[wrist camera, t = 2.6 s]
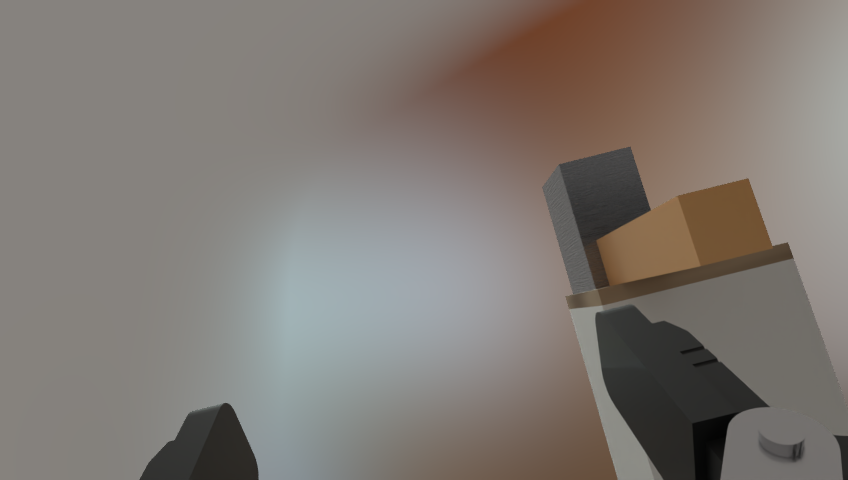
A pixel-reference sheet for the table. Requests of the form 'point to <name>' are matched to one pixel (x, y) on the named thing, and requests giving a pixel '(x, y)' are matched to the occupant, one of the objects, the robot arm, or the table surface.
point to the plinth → (723, 339)
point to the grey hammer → (644, 223)
